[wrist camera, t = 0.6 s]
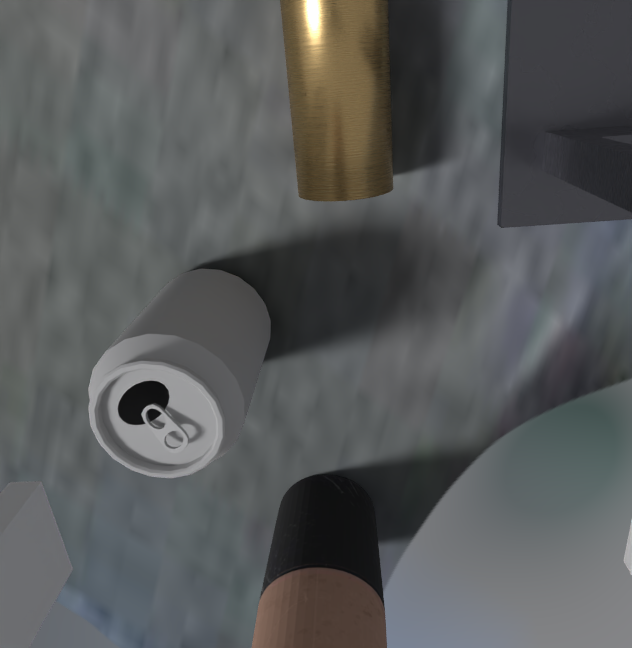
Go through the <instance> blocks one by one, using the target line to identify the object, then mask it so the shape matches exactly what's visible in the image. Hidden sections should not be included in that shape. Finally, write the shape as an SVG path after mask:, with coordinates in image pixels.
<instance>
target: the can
mask: <svg viewBox="0 0 632 648" xmlns="http://www.w3.org/2000/svg"><path fill="white" fill-rule="evenodd" d="M270 337H271V320H270V317H269V314H268V311H267V308H266V305H265V303H264V301H263V300H262V299H261V297H260V296H259V295H258V293H257V292H256V290H255V289H254V288H253V287H251V286H250V285H249V284H247V283H246V282H245V281H243V280H242V279H241V278H240V277H238V276H235V275H232V274H230V273H227V272H224V271H222V270H215V269H197V270H193V271H189V272H185V273H182V274H181V275H179V276H178V277H176V278H174V279H173V280H171V281H170V282H168V283H167V284H166V285H165V287H164V288H163V289H162V290H161V291H160V292H159V293H158V294H157V295H156V296H155V298H154V299H153V300H152V301H151V302H150V303H149V304H148V305H147V306H146V308H145V309H144V310H143V311H142V312H141V313H140V314H139V315H138V316H137V318H136V319H135V320H134V321H133V322H132V323H131V324H130V325H129V326H128V327H127V329H126V330H125V331H124V332H123V333H122V334H121V335H120V336H119V337H118V339H117V340H116V341H115V342H114V343H113V344H112V345H111V346H110V347H109V349H108V350H107V351H106V352H105V353H104V355H103V356H102V357H101V359H100V360H99V362H98V363H97V364H96V366H95V367H94V368H93V372H92V376H91V380H90V384H89V388H88V390H89V397H90V403H89V407H88V409H89V417H90V424H91V428H92V430H93V432H94V434H95V436H96V438H97V440H98V442H99V444H100V445H101V446H102V447H103V448H104V449H105V450H106V451H107V452H108V453H109V454H110V456H111V457H112V458H113V459H115V460H116V461H118V462H119V463H121V464H123V465H124V466H126V467H127V468H129V469H130V470H133V471H136V472H139V473H142V474H145V475H148V476H151V477H162V478H176V477H181V476H186V475H191V474H193V473H195V472H197V471H199V470H201V469H202V468H204V467H206V466H208V465H209V463H210V462H212V461H214V460H216V459H218V458H219V457H221V456H223V455H224V454H225V453H226V452H227V451H228V450H229V449H230V448H231V447H232V445H233V444H234V443H235V442H236V441H237V439H238V437H239V434H240V432H241V429H242V427H243V424H244V421H245V418H246V415H247V412H248V409H249V405H250V402H251V399H252V396H253V392H254V389H255V386H256V383H257V380H258V376H259V373H260V370H261V367H262V364H263V360H264V357H265V354H266V351H267V348H268V344H269V341H270Z"/></svg>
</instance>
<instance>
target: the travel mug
mask: <svg viewBox="0 0 632 648" xmlns="http://www.w3.org/2000/svg"><path fill="white" fill-rule="evenodd" d="M252 648H387V641H386V622H385V608H384V598H383V588H382V578H381V568H380V558H379V547H378V537H377V528H376V519H375V511H374V507H373V503H372V501H371V499H370V497H369V496H368V494H367V493H366V492H365V491H364V490H363V489H362V488H361V487H360V486H359V485H357V484H356V483H354V482H352V481H350V480H348V479H346V478H343V477H339V476H333V475H317V476H312V477H308V478H305V479H303V480H301V481H299V482H297V483H296V484H294V485H293V486H292V487H291V488H290V489H289V490H288V491H287V492H286V494H285V495H284V497H283V499H282V501H281V505H280V508H279V512H278V517H277V521H276V526H275V530H274V535H273V540H272V544H271V549H270V554H269V559H268V563H267V568H266V573H265V577H264V582H263V587H262V591H261V596H260V602H259V607H258V613H257V619H256V625H255V631H254V637H253V643H252Z"/></svg>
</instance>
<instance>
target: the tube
mask: <svg viewBox="0 0 632 648" xmlns="http://www.w3.org/2000/svg"><path fill="white" fill-rule="evenodd" d="M280 4H281V15H282V25H283V36H284V46H285V57H286V67H287V78H288V88H289V99H290V109H291V120H292V130H293V140H294V151H295V161H296V172H297V182H298V193H299V197H300V198H303V199H306V200H313V201H346V200H357V199H364V198H370V197H375V196H379V195H383V194H386V193H388V192H390V191H392V190H393V162H392V127H391V91H390V56H389V20H388V0H280Z"/></svg>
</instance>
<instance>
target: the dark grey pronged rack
mask: <svg viewBox="0 0 632 648" xmlns="http://www.w3.org/2000/svg"><path fill="white" fill-rule="evenodd" d="M625 219H632V0H508V7H507V29H506V50H505V72H504V94H503V116H502V137H501V159H500V181H499V203H498V225H499V226H500V227H501V228H505V227H520V226H535V225H550V224H565V223H580V222H595V221H610V220H625Z"/></svg>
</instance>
